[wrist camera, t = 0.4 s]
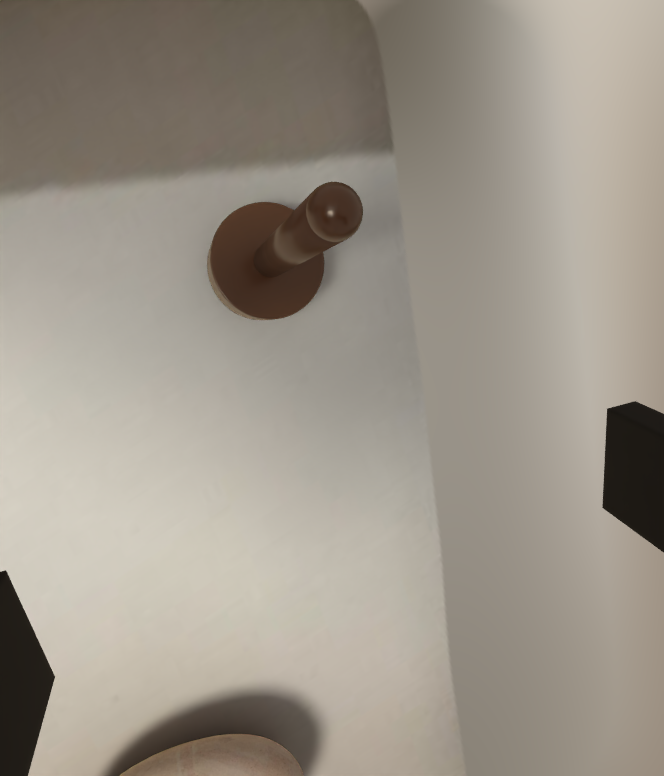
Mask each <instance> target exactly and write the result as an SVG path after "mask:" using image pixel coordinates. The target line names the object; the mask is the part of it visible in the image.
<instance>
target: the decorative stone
mask: <svg viewBox="0 0 664 776" xmlns="http://www.w3.org/2000/svg"><path fill="white" fill-rule="evenodd" d="M119 776H304V774H303V772H302V769H301V767H300V765H299V763H298V762H297V760H296V759H295V758H294V756H293V755H292V754H291V753H290V752H289V751H288V750H287V749H286V748H284V747H283V746H281V745H280V744H278V743H277V742H275V741H273V740H270V739H268V738H265V737H261V736H257V735H251V734H225V735H217V736H211V737H206V738H202V739H198V740H194V741H190V742H187V743H183V744H180V745H178V746H175V747H172V748H169V749H167V750H164V751H162V752H160V753H157V754H155V755H153V756H151V757H149V758H147V759H145V760H143V761H141V762H140V763H138V764H136V765H134V766H133V767H131V768H130V769H128V770H127V771H125V772H124V773H122V774H121V775H119Z"/></svg>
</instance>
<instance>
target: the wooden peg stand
mask: <svg viewBox="0 0 664 776" xmlns="http://www.w3.org/2000/svg"><path fill="white" fill-rule="evenodd" d="M362 215H363V207H362V203H361V200H360V198H359V196H358V195H357V193H356V192H355V191H354V190H353V189H352V188H351V187H349V186H348V185H346V184H343V183H339V182H328V183H325V184H323V185H321V186H319V187H317V188H316V189H315V190H314V191H313V192H312V193H311V194H310V195H309V196H308V197H307V198H306V199H305V200H304V201H303V202H302V203H301V204H300V205H299V206H298V207H297V208H296V209H295V211H294V210H293V209H291V208H288V207H286V206H284V205H280V204H277V203H271V202H258V203H252V204H249V205H246V206H243V207H241V208H239V209H237V210H236V211H234V212H233V213H231V214H230V215H229V216H228V217H227V218H226V219H225V220H224V221H223V222H222V223H221V225H220V226H219V228H218V229H217V231H216V233H215V235H214V238H213V241H212V244H211V247H210V249H209V254H208V260H207V269H208V276H209V280H210V283H211V286H212V288H213V290H214V292H215V294H216V295H217V297H218V298H219V299H220V300H221V302H222V303H223V304H224V305H225V306H226V307H227V308H229V309H230V310H232V311H233V312H234V313H236V314H238V315H240V316H243V317H246V318H249V319H254V320H271V319H279V318H284V317H287V316H290V315H292V314H294V313H296V312H298V311H299V310H301V309H302V308H304V307H305V306H306V305H307V304H308V303H309V302H310V301H311V300H312V299H313V297H314V296H315V294H316V293H317V291H318V289H319V287H320V284H321V281H322V278H323V273H324V254H323V252H324V251H326V250H327V249H329V248H331V247H333V246H335V245H337V244H339V243H341V242H343V241H344V240H346V239H348V238H350V237H351V236H352V235H353V234H354V233H355V232H356V231H357V230H358V228H359V226H360V224H361V221H362Z"/></svg>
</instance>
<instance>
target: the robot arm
mask: <svg viewBox="0 0 664 776" xmlns="http://www.w3.org/2000/svg"><path fill="white" fill-rule="evenodd" d="M603 508H604V509H605V510H606V511H608V512H609V513H610V514H612V515H613V516H615V517H616V518H617V519H619V520H620V521H622V522H623V523H624V524H626V525H627V526H628V527H630V528H631V529H632V530H634V531H635V532H637V533H638V534H639V535H641V536H642V537H643V538H645V539H646V540H648V541H649V542H650V543H652V544H653V545H654V546H656V547H657V548H658V549H660V550H661V551H663V552H664V414H663V413H660V412H658V411H656V410H654V409H651V408H649V407H647V406H645V405H642V404H640V403H638V402H631V403H628V404H623V405H620V406H616V407H612V408H608V409H607V426H606V447H605V469H604V490H603ZM54 678H55V676H54V674H53V672H52V669H51V667H50V665H49V663H48V661H47V659H46V656H45V654H44V652H43V650H42V648H41V646H40V643H39V641H38V639H37V637H36V635H35V633H34V630H33V628H32V626H31V624H30V622H29V619H28V617H27V615H26V613H25V611H24V609H23V606H22V604H21V602H20V600H19V598H18V596H17V593H16V591H15V589H14V587H13V585H12V583H11V580H10V578H9V576H8V574H7V572H6V570H5V571H2V572H0V776H28V773H29V769H30V766H31V762H32V758H33V755H34V751H35V747H36V744H37V740H38V737H39V733H40V729H41V726H42V722H43V718H44V715H45V711H46V707H47V704H48V700H49V696H50V693H51V689H52V686H53V682H54Z"/></svg>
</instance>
